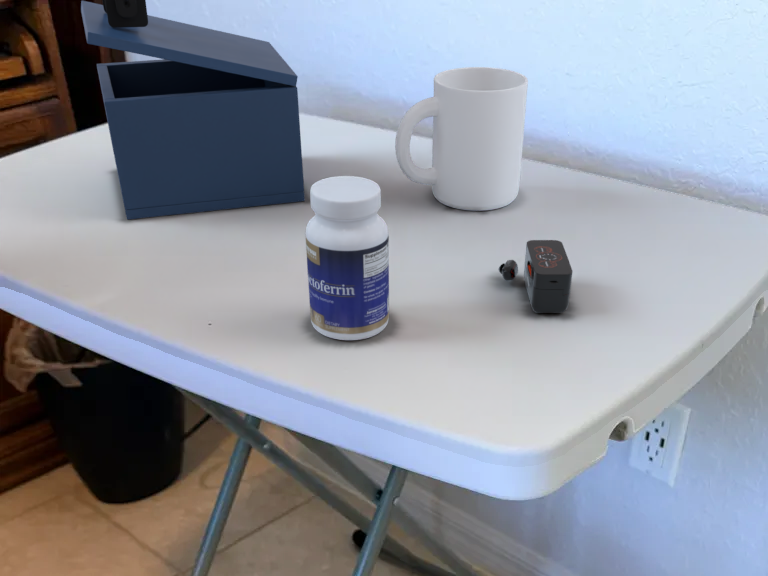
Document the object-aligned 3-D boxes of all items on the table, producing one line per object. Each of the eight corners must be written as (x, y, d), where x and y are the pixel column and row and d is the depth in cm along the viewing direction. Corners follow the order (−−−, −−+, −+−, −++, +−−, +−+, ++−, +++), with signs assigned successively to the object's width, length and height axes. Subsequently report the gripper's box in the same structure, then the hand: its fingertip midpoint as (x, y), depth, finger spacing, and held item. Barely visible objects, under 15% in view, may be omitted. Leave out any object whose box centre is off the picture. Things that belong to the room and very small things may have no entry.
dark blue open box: (127, 220, 83) (104, 102, 77) (117, 172, 93) (96, 63, 86) (304, 201, 87) (297, 87, 80) (277, 157, 96) (268, 52, 90)
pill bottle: (295, 329, 67) (284, 190, 61) (342, 300, 71) (336, 166, 64) (359, 351, 65) (354, 209, 58) (404, 319, 68) (405, 183, 62)
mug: (408, 221, 83) (408, 97, 76) (383, 189, 89) (381, 73, 82) (532, 207, 86) (542, 87, 79) (499, 177, 92) (507, 63, 85)
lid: (87, 43, 74) (90, -35, 71) (80, 10, 83) (83, -59, 80) (296, 86, 80) (307, 17, 77) (267, 51, 90) (277, -12, 87)
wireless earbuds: (555, 275, 74) (559, 235, 72) (568, 316, 69) (573, 274, 67) (497, 275, 74) (500, 235, 72) (506, 316, 69) (509, 274, 67)
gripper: (32, -260, 73) (76, 2, 85) (33, -268, 61) (85, 42, 72) (129, -255, 75) (160, 1, 86) (151, -262, 62) (183, 39, 74)
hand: (125, 17), depth 79 cm, fingers closed on lid, 5 cm apart
